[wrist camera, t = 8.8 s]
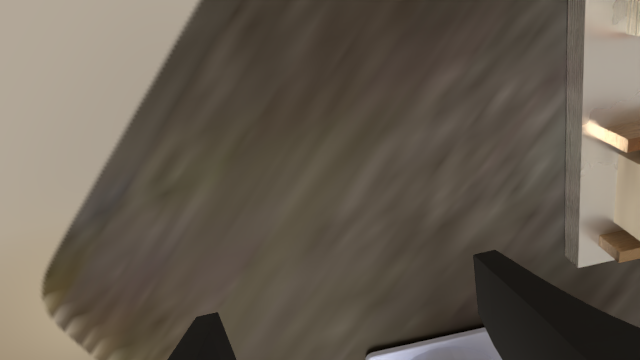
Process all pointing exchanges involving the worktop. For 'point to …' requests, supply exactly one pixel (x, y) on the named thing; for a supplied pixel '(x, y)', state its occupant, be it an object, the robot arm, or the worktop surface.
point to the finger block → (628, 193)
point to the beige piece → (600, 125)
